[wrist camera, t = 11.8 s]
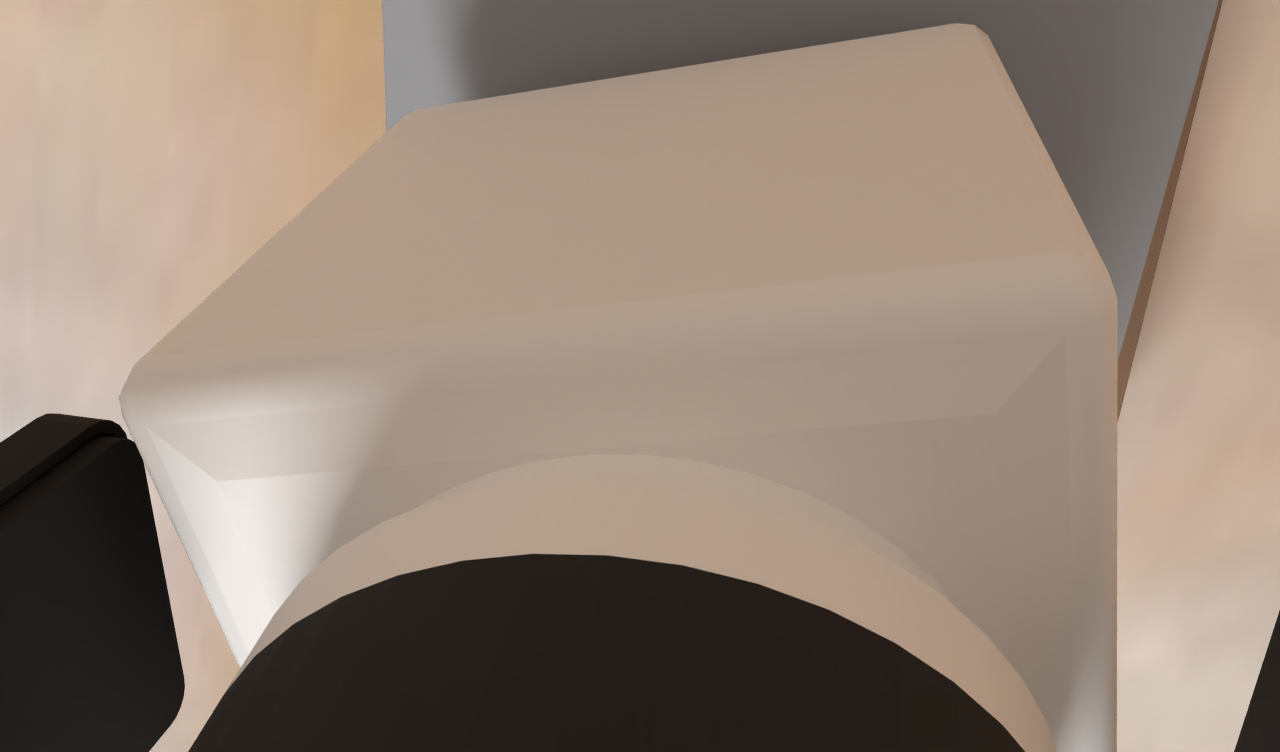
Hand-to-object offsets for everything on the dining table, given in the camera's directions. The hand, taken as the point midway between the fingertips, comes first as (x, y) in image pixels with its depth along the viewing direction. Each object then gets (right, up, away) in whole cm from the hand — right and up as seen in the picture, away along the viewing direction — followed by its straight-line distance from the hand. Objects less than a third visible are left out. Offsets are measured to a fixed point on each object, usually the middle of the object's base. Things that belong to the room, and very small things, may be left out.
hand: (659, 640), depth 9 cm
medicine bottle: (+1, +3, +6) cm, 7 cm away
